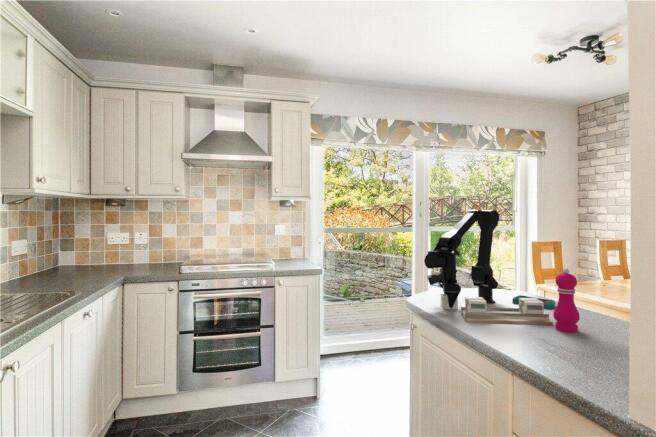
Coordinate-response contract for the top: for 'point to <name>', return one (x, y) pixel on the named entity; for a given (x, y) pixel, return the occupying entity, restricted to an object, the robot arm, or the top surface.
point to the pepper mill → (566, 303)
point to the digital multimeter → (547, 303)
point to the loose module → (445, 302)
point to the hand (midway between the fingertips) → (449, 304)
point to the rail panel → (505, 312)
